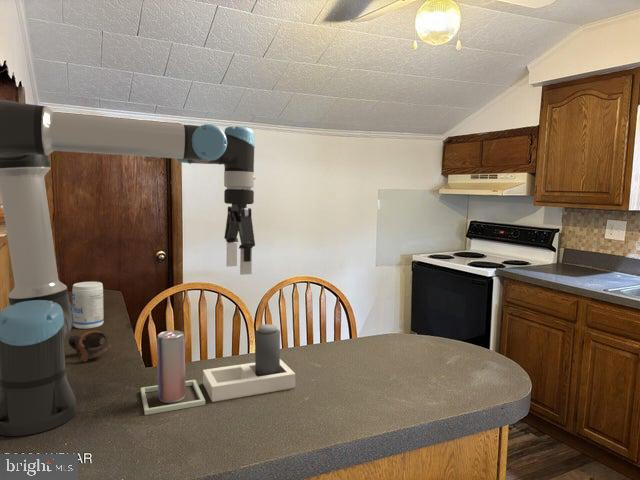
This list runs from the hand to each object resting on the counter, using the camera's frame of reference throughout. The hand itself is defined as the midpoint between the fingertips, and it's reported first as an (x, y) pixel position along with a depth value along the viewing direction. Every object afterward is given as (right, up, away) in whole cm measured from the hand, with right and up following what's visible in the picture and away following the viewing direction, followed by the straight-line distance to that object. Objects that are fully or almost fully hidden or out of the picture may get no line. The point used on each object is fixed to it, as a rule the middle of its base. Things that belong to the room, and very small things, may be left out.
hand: (238, 270), depth 124 cm
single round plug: (+8, -27, -7) cm, 30 cm away
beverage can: (-12, -28, -16) cm, 35 cm away
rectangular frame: (-12, -28, -16) cm, 35 cm away
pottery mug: (-44, -25, +10) cm, 52 cm away
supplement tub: (-59, -22, +40) cm, 75 cm away
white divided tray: (+4, -28, -9) cm, 29 cm away
